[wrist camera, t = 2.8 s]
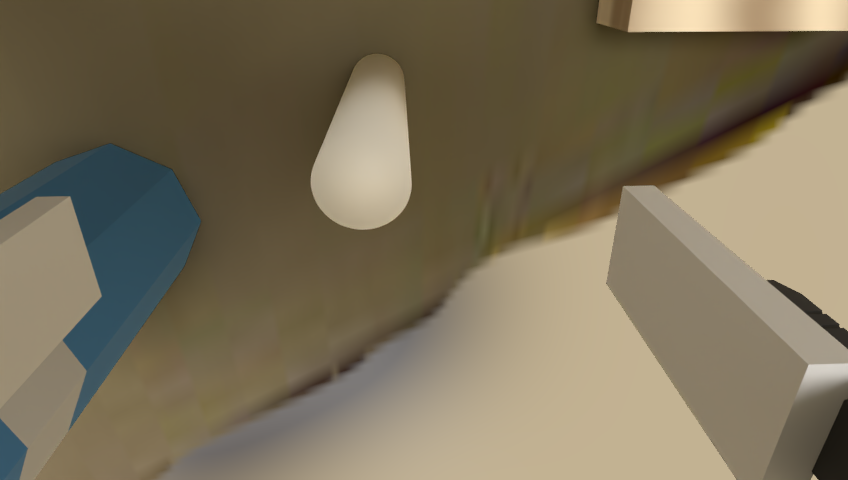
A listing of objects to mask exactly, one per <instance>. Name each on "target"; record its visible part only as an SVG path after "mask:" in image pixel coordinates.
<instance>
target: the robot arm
mask: <svg viewBox="0 0 848 480" xmlns="http://www.w3.org/2000/svg"><path fill="white" fill-rule="evenodd" d="M606 284H607V285H608V287H609V288H610V290H611V291H612V293H613V294H614V296H615V297H616V299H617V300H618V302H619V303H620V305H621V306H622V308H623V309H624V311H625V312H626V314H627V315H628V317H629V318H630V320H631V321H632V323H633V324H634V326H635V327H636V329H637V330H638V332H639V333H640V335H641V336H642V338H643V339H644V341H645V342H646V344H647V346H648V347H649V348H650V350H651V351H652V353H653V355H654V356H655V358H656V359H657V360H658V362H659V364H660V365H661V366H662V368H663V370H664V371H665V373H666V374H667V375H668V377H669V379H670V380H671V382H672V383H673V385H674V386H675V388H676V389H677V391H678V392H679V394H680V395H681V397H682V398H683V400H684V401H685V402H686V404H687V406H688V407H689V409H690V410H691V412H692V413H693V415H694V416H695V418H696V419H697V420H698V422H699V424H700V425H701V427H702V428H703V430H704V431H705V433H706V434H707V436H708V437H709V439H710V440H711V442H712V443H713V445H714V446H715V448H716V449H717V451H718V452H719V454H720V455H721V457H722V458H723V460H724V461H725V463H726V464H727V466H728V467H729V469H730V470H731V472H732V473H733V475H734V476H735V478H736V479H737V480H811V478H812V476H813V474H814V475H815V476H816V477H817V479H818V480H848V331H847V330H845V329H844V328H840V327H839V324H838V323H837V322H835V321H834V320H833V319H831V317H829V316H828V315H827V314H822V310H821V309H819V308H818V307H817V306H816V305H814V304H813V303H812V302H811V301H809V300H808V299H807V298H806V297H805V296H803V295H802V294H800V293H798V292H796V291H794V290H792V289H790V288H788V287H786V286H784V285H782V284H780V283H778V282H776V281H774V280H765V279H764V278H763V277H762V276H761V275H759V274H758V273H757V272H756V271H755V270H753V269H752V268H751V267H750V266H749V265H747V264H746V263H745V262H744V261H743V260H742V259H740V258H739V257H738V256H737V255H736V254H735V253H733V252H732V251H731V250H730V249H729V248H727V247H726V246H725V245H724V244H722V243H721V242H720V241H719V240H718V239H717V238H716V237H714V236H713V235H712V234H711V233H710V232H708V231H707V230H706V229H705V228H704V227H703V226H701V225H700V224H699V223H698V222H696V221H695V220H694V219H693V218H692V217H691V216H689V215H688V214H687V213H686V212H685V211H684V210H682V209H681V208H680V207H679V206H678V205H677V204H675V203H674V202H673V201H672V200H671V199H669V198H668V197H667V196H666V195H665V194H663V193H662V192H661V191H660V190H659V189H658V188H656V187H655V186H623V190H622V196H621V202H620V208H619V213H618V219H617V225H616V231H615V236H614V243H613V249H612V254H611V259H610V265H609V271H608V277H607V282H606ZM101 296H102V295H101V292H100V289H99V286H98V283H97V279H96V276H95V273H94V270H93V267H92V264H91V261H90V257H89V254H88V251H87V248H86V245H85V242H84V239H83V235H82V232H81V229H80V226H79V223H78V220H77V216H76V213H75V210H74V207H73V204H72V201H71V198H70V196H52V197H35V198H34V199H32V200H31V201H29V202H27V203H26V204H24V205H23V206H21V207H19V208H18V209H16V210H15V211H13V212H12V213H10V214H8V215H7V216H5V217H4V218H2V219H0V409H1V407H2V406H3V405H4V404H5V403H6V402H7V401H8V400H9V399H10V397H11V396H12V395H13V394H14V393H15V392H16V391H17V390H18V389H19V387H20V386H21V385H22V384H23V383H24V382H25V381H26V380H27V379H28V377H29V376H30V375H31V374H32V373H33V372H34V371H35V370H36V369H37V367H38V366H39V365H40V364H41V363H42V362H43V361H44V360H45V359H46V357H47V356H48V355H49V354H50V353H51V352H52V351H53V350H54V349H55V348H56V346H57V345H58V344H59V343H60V342H61V341H62V340H63V339H64V338H65V336H66V335H67V334H68V333H69V332H70V331H71V330H72V329H73V328H74V326H75V325H76V324H77V323H78V322H79V321H80V320H81V319H82V318H83V316H84V315H85V314H86V313H87V312H88V311H89V310H90V309H91V308H92V306H93V305H94V304H95V303H96V302H97V301H98V300H99V299H100V298H101Z"/></svg>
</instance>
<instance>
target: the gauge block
mask: <svg viewBox="0 0 848 480" xmlns="http://www.w3.org/2000/svg"><path fill="white" fill-rule="evenodd" d="M596 23H598V24H602V25H605V26H609V27H612V28H616V29H619V30H622V31H626V32H707V31H848V0H599V6H598V14H597V21H596Z"/></svg>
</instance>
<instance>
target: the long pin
mask: <svg viewBox="0 0 848 480" xmlns="http://www.w3.org/2000/svg"><path fill="white" fill-rule="evenodd" d="M411 187H412V181H411V166H410V152H409V137H408V123H407V108H406V94H405V80H404V74H403V71H402V69H401V67H400V65H399V64H398V63H397V62H396V61H395V60H394V59H393V58H391V57H389V56H387V55H384V54H370V55H367V56H365V57H363V58H362V59H360V60H359V61H358V62H357V64H356V65H355V67H354V69H353V71H352V74H351V76H350V78H349V81H348V83H347V86H346V88H345V91H344V93H343V95H342V98H341V100H340V103H339V105H338V108H337V110H336V112H335V115H334V117H333V120H332V122H331V124H330V127H329V129H328V132H327V134H326V137H325V139H324V141H323V144H322V146H321V149H320V151H319V154H318V156H317V158H316V161H315V163H314V166H313V169H312V173H311V189H312V193H313V196H314V199H315V201H316V203H317V205H318V206H319V208H320V209H321V210H322V211H323V213H324V214H325V215H326V216H328V217H329V218H330V219H331V220H333V221H334V222H336V223H338V224H340V225H342V226H345V227H348V228H352V229H359V230H366V229H374V228H378V227H381V226H383V225H386V224H388V223H389V222H391V221H392V220H394V219H395V218H396V217H397V216H398V215H399V214H400V213H401V212H402V211H403V209H404V208H405V207H406V205H407V203H408V200H409V198H410V194H411Z"/></svg>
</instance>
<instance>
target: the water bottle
mask: <svg viewBox="0 0 848 480" xmlns="http://www.w3.org/2000/svg"><path fill="white" fill-rule="evenodd" d="M52 196H70V198H71V201H72V204H73V207H74V210H75V213H76V216H77V220H78V223H79V226H80V229H81V232H82V235H83V239H84V242H85V245H86V248H87V251H88V254H89V257H90V261H91V264H92V267H93V270H94V273H95V276H96V279H97V283H98V286H99V289H100V292H101V295H102V296H101V298H100V299H99V300H98V301H97V302H96V303H95V304H94V305H93V306H92V308H91V309H90V310H89V311H88V312H87V313H86V314H85V315H84V316H83V318H82V319H81V320H80V321H79V322H78V323H77V324H76V325H75V326H74V328H73V329H72V330H71V331H70V332H69V333H68V334H67V335H66V336H65V338H64V339H63V340H62V341H61V342H60V343H59V344H58V345H57V346H56V348H55V349H54V350H53V351H52V352H51V353H50V354H49V355H48V356H47V357H46V359H45V360H44V361H43V362H42V363H41V364H40V365H39V366H38V367H37V369H36V370H35V371H34V372H33V373H32V374H31V375H30V376H29V377H28V379H27V380H26V381H25V382H24V383H23V384H22V385H21V386H20V387H19V389H18V390H17V391H16V392H15V393H14V394H13V395H12V396H11V397H10V399H9V400H8V401H7V402H6V403H5V404H4V405H3V406H2V407H1V409H0V480H34V479H35V478H36V476H37V475H38V474H39V472H40V471H41V469H42V468H43V467H44V465H45V464H46V462H47V461H48V459H49V458H50V457H51V455H52V454H53V452H54V451H55V449H56V448H57V447H58V445H59V444H60V442H61V441H62V440H63V438H64V437H65V435H66V434H67V432H68V431H69V430H70V428H71V427H72V425H73V424H74V422H75V421H76V420H77V418H78V417H79V415H80V414H81V413H82V411H83V410H84V408H85V407H86V405H87V404H88V403H89V401H90V400H91V398H92V397H93V395H94V394H95V393H96V391H97V390H98V388H99V387H100V386H101V384H102V383H103V381H104V380H105V378H106V377H107V376H108V374H109V373H110V371H111V370H112V368H113V367H114V366H115V364H116V363H117V361H118V360H119V358H120V357H121V356H122V354H123V353H124V351H125V350H126V349H127V347H128V346H129V344H130V343H131V341H132V340H133V339H134V337H135V336H136V334H137V333H138V331H139V330H140V329H141V327H142V326H143V324H144V323H145V322H146V320H147V319H148V317H149V316H150V314H151V313H152V312H153V310H154V309H155V307H156V306H157V304H158V303H159V302H160V300H161V299H162V297H163V296H164V295H165V293H166V292H167V290H168V289H169V287H170V286H171V285H172V283H173V282H174V280H175V279H176V277H177V276H178V275H179V273H180V272H181V270H182V269H183V267H184V266H185V263H186V261H187V258H188V255H189V253H190V250H191V247H192V244H193V242H194V239H195V236H196V234H197V231H198V228H199V225H200V223H201V220H200V218H199V216H198V215H197V213H196V211H195V209H194V208H193V206H192V204H191V202H190V201H189V199H188V197H187V195H186V194H185V192H184V190H183V188H182V186H181V185H180V183H179V181H178V179H177V178H176V176H175V174H174V172H173V171H172V169H170V168H167V167H165V166H162V165H160V164H158V163H155V162H153V161H151V160H148V159H146V158H144V157H141V156H139V155H136V154H134V153H132V152H129V151H127V150H125V149H122V148H120V147H117V146H115V145H113V144H107V145H104V146H101V147H98V148H95V149H92V150H89V151H86V152H84V153H81V154H78V155H75V156H72V157H69V158H66V159H63V160H60V161H57V162H55V163H53V164H51V165H50V166H48V167H46V168H45V169H43V170H41V171H39V172H38V173H36V174H34V175H32V176H31V177H29V178H27V179H26V180H24V181H22V182H20V183H19V184H17V185H15V186H13V187H12V188H10V189H8V190H6V191H5V192H3V193H1V194H0V219H2V218H4V217H5V216H7V215H8V214H10V213H12V212H13V211H15V210H16V209H18V208H19V207H21V206H23V205H24V204H26V203H27V202H29V201H31V200H32V199H34V198H35V197H52Z"/></svg>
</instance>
